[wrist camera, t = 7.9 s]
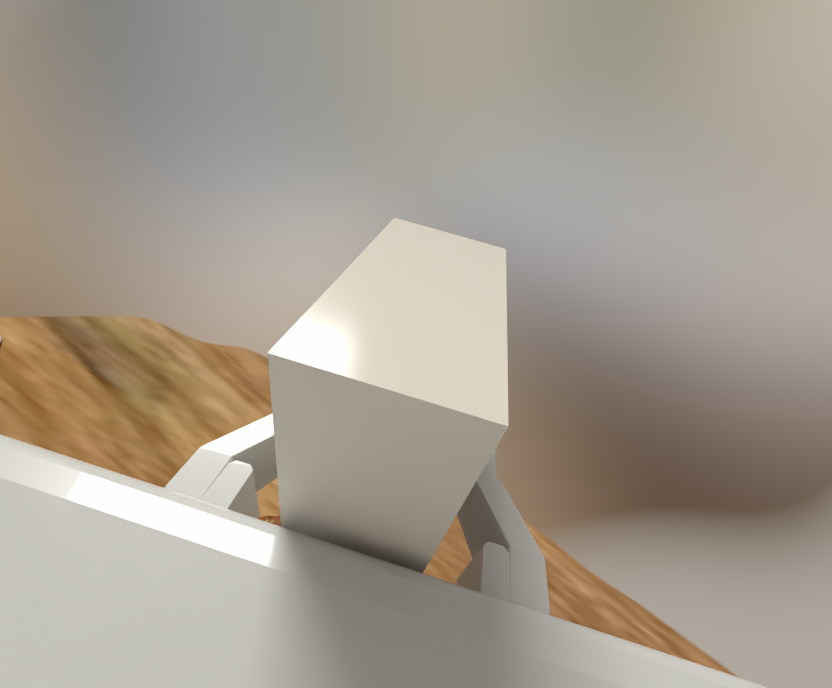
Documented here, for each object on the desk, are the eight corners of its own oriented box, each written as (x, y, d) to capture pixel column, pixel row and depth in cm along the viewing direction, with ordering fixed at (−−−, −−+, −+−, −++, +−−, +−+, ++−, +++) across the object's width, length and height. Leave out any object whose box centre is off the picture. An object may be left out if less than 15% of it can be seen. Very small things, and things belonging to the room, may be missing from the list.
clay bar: (289, 640, 13) (267, 353, 4) (348, 491, 17) (394, 217, 9) (367, 667, 12) (507, 426, 4) (405, 510, 17) (505, 249, 9)
